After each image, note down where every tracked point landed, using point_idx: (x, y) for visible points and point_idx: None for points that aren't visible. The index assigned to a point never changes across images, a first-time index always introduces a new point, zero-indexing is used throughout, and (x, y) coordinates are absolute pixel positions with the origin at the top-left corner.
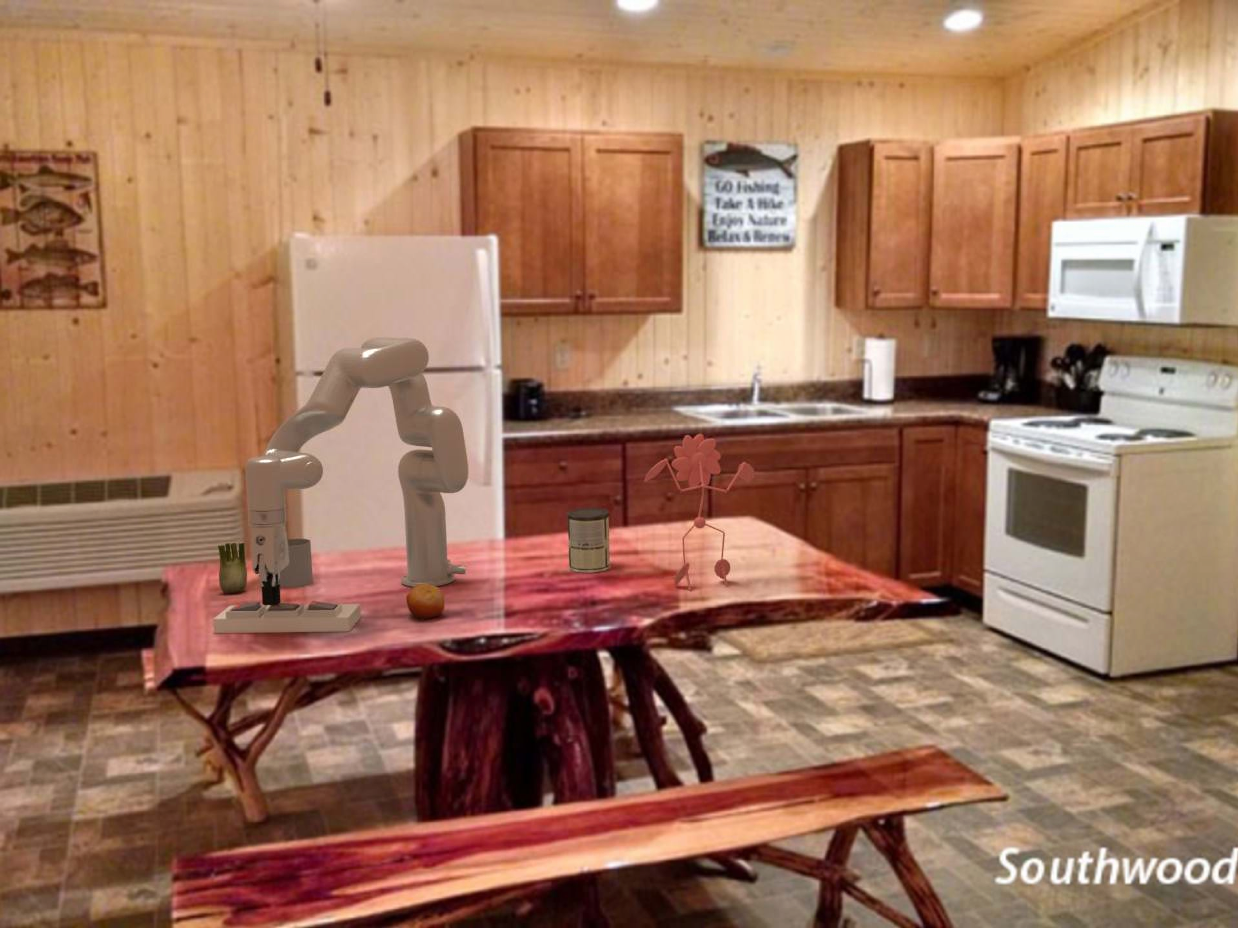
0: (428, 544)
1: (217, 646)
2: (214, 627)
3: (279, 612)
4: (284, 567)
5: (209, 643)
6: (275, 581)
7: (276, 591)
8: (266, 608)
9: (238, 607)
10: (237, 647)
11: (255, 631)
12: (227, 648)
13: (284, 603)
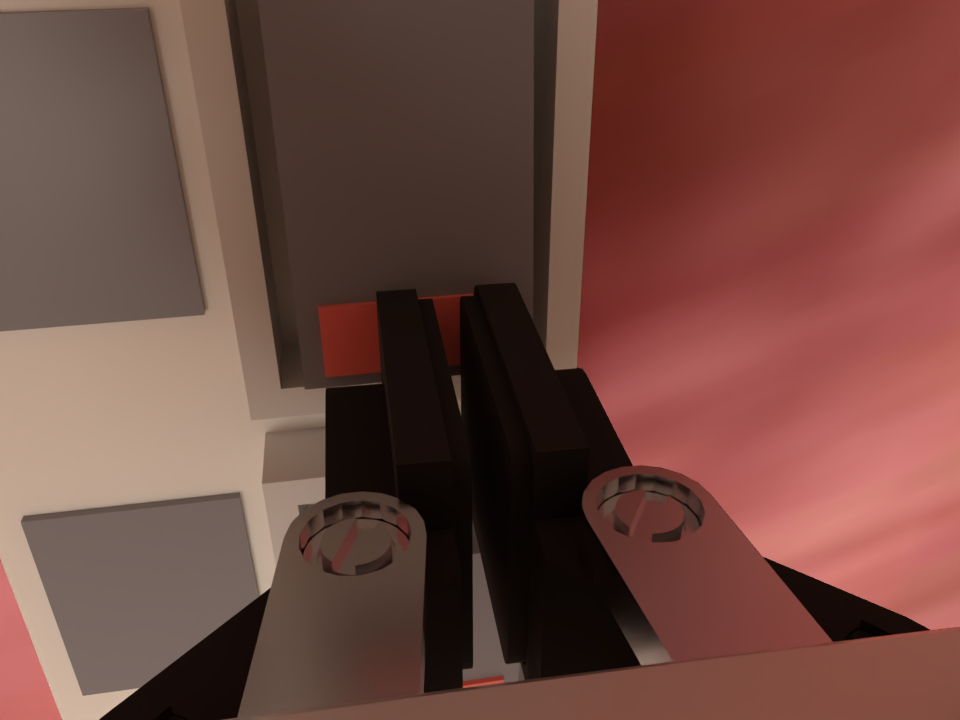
0: None
1: (867, 483)
2: None
3: (584, 189)
4: (449, 709)
5: (777, 562)
6: (621, 543)
7: (562, 399)
8: (138, 480)
9: (464, 680)
10: (940, 333)
11: None
12: (942, 396)
13: (322, 232)
